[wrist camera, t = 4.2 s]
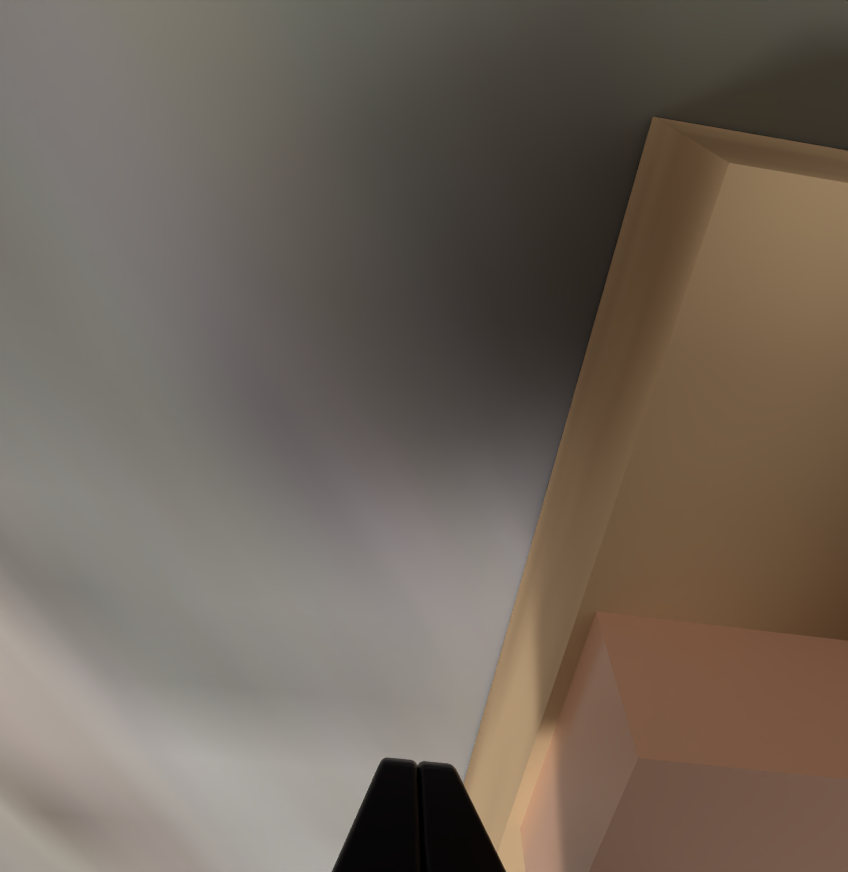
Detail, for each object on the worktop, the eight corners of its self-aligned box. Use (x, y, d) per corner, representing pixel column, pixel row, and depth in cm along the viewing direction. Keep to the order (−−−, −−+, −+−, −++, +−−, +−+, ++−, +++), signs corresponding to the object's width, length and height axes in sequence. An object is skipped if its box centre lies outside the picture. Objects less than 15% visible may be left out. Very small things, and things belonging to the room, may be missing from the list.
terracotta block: (920, 649, 10) (1032, 797, 8) (792, 852, 12) (859, 1007, 10) (595, 611, 9) (638, 757, 8) (519, 828, 11) (539, 984, 10)
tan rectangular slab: (1366, 241, 10) (1636, 318, 8) (871, 905, 17) (940, 1045, 15) (652, 116, 9) (729, 163, 7) (439, 869, 16) (443, 1011, 14)
